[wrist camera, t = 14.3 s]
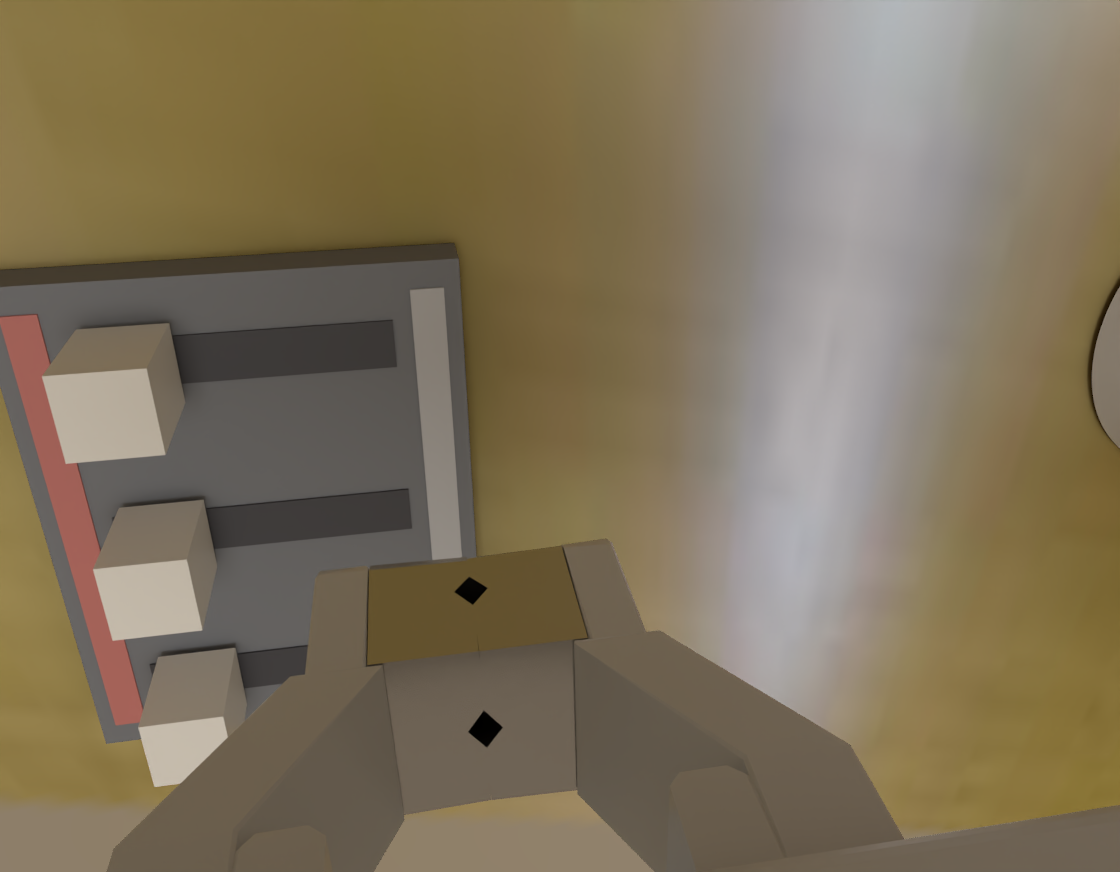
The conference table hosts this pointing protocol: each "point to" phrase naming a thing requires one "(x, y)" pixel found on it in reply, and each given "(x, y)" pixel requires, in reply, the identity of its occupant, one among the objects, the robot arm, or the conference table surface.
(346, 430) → the panel
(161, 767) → the block
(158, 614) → the block
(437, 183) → the conference table surface
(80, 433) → the block
